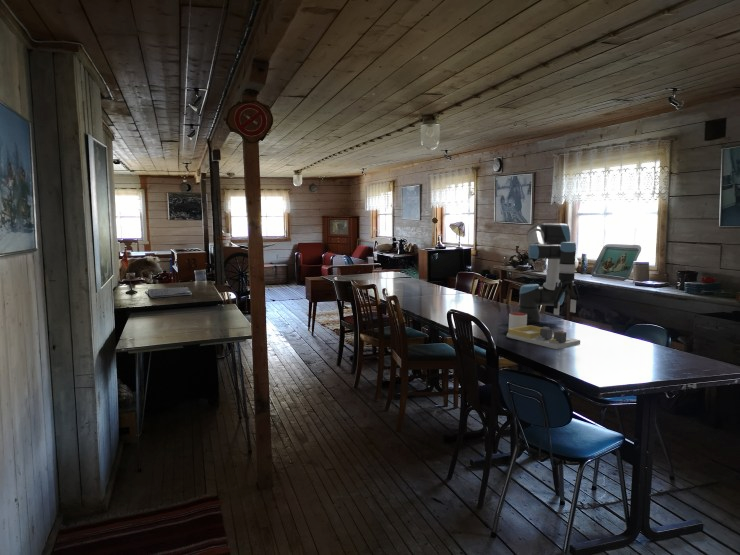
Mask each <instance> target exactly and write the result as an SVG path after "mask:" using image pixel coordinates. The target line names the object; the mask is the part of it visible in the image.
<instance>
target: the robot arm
mask: <svg viewBox="0 0 740 555" xmlns="http://www.w3.org/2000/svg"><path fill="white" fill-rule="evenodd" d="M526 238H527V241H528V242H529V243H530V244H529V245H528V258H529V259H534V260H538V259H539V260H542V259H543V260H547V267H546V268H547V269H546V278H545V282H543V284H542V286H540V284H538V283H529V284H528V283H527V284H523V285H521V286H520V288H519V302H518V310H517V313H524V314H527V324H532V323H533V324H536V323H540V322H541V314H540V312H539V306H553V315H554V316H555V315H556V316H560V306H561V305H563V302H564V300H565V296H566V295H565V294H566V291H567V292H568V294H569V296H570V297H571V299H570V303H569V304H570V306H569V307H570V308H569V309H570V310H569V312H570V313H573V314H574V313H576V310H577V309H576V308H577V301H578V300H579V299H580V294H579V290H578V286H577V281H576V280H575V272H576V251H577V243H576V242H575V241H571V229H570V226H569V224H567V223H561V222H560V223H559V222H558V223H551V222H549V223H548V222H546V223H544V222H542V223H538V224H535V225H533V226H532V227H531V228H529V229H528V230H527V234H526Z"/></svg>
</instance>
